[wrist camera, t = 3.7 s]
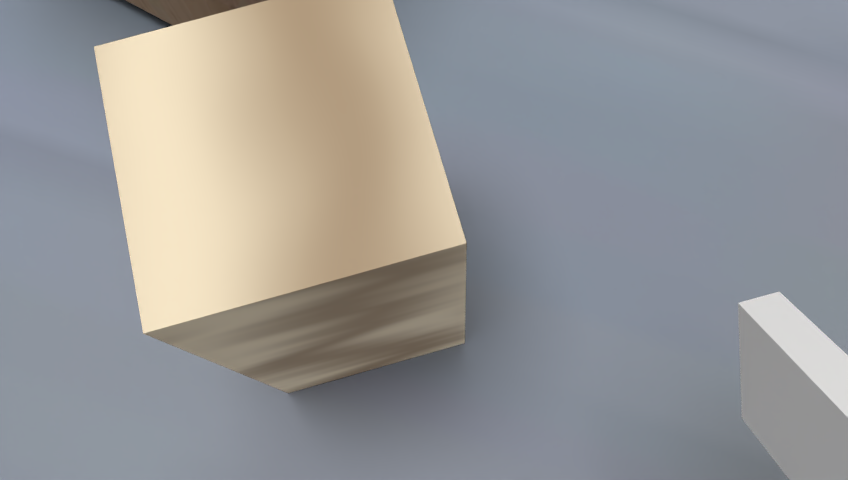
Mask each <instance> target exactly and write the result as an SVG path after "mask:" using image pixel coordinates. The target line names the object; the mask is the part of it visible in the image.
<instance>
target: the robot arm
mask: <svg viewBox="0 0 848 480" xmlns="http://www.w3.org/2000/svg"><path fill="white" fill-rule="evenodd" d="M738 314H739V344H740V375H741V405H742V419H743V420H744V422H745V423H746V424H747V426H748V427H749V428H750V429H751V431H752V432H753V433H754V435H755V436H756V437H757V438H758V440H759V441H760V442H761V444H762V445H763V446H764V448H765V449H766V450H767V451H768V453H769V454H770V455H771V457H772V458H773V459H774V461H775V462H776V463H777V464H778V466H779V467H780V468H781V470H782V471H783V472H784V473H785V475H786V476H787V477H788V479H789V480H848V355H847V354H845V353H844V352H843V351H842V350H841V349H840V348H839V347H838V346H837V345H836V344H835V343H834V342H833V341H832V340H830V339H829V338H828V337H827V336H826V335H825V334H824V333H823V332H822V331H821V330H820V329H819V328H818V327H817V326H815V325H814V324H813V323H812V322H811V321H810V320H809V319H808V318H807V317H806V316H805V315H804V314H803V313H802V312H800V311H799V310H798V309H797V308H796V307H795V306H794V305H793V304H792V303H791V302H790V301H789V300H788V299H787V298H785V297H784V296H783V295H782V294H781V293H780V292H776V293H773V294H769V295H765V296H762V297H758V298H754V299H751V300H747V301H744V302H740V303H738Z"/></svg>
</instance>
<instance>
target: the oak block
mask: <svg viewBox="0 0 848 480" xmlns="http://www.w3.org/2000/svg"><path fill="white" fill-rule="evenodd" d="M94 50H95V56H96V62H97V67H98V73H99V79H100V85H101V91H102V96H103V102H104V108H105V114H106V120H107V125H108V131H109V137H110V143H111V149H112V154H113V160H114V166H115V172H116V178H117V183H118V189H119V195H120V201H121V207H122V213H123V218H124V224H125V230H126V236H127V242H128V247H129V253H130V259H131V265H132V271H133V276H134V282H135V288H136V294H137V300H138V305H139V311H140V317H141V323H142V329H143V334H146V335H148V336H151V337H153V338H155V339H158V340H160V341H163V342H165V343H168V344H170V345H172V346H175V347H177V348H180V349H182V350H185V351H187V352H189V353H192V354H194V355H197V356H199V357H202V358H204V359H206V360H209V361H211V362H214V363H216V364H219V365H221V366H223V367H226V368H228V369H231V370H233V371H236V372H238V373H240V374H243V375H245V376H248V377H250V378H253V379H255V380H257V381H260V382H262V383H265V384H267V385H270V386H272V387H274V388H277V389H279V390H282V391H284V392H286V393H291V392H294V391H298V390H301V389H305V388H308V387H312V386H315V385H319V384H322V383H326V382H330V381H333V380H337V379H340V378H344V377H347V376H351V375H354V374H358V373H361V372H365V371H368V370H372V369H375V368H379V367H382V366H386V365H389V364H393V363H397V362H400V361H404V360H407V359H411V358H414V357H418V356H421V355H425V354H428V353H432V352H435V351H439V350H442V349H446V348H449V347H453V346H457V345H460V344H464V343H465V302H466V245H467V243H466V240H465V236H464V233H463V230H462V227H461V223H460V220H459V217H458V213H457V210H456V207H455V204H454V200H453V197H452V194H451V191H450V187H449V184H448V181H447V177H446V174H445V171H444V168H443V164H442V161H441V158H440V154H439V151H438V148H437V145H436V141H435V138H434V135H433V131H432V128H431V125H430V122H429V118H428V115H427V112H426V108H425V105H424V102H423V99H422V95H421V92H420V89H419V85H418V82H417V79H416V76H415V72H414V69H413V66H412V62H411V59H410V56H409V53H408V49H407V46H406V43H405V39H404V36H403V33H402V30H401V26H400V23H399V20H398V17H397V13H396V10H395V7H394V3H393V0H267V1H263V2H259V3H256V4H252V5H248V6H245V7H241V8H237V9H233V10H230V11H226V12H222V13H218V14H215V15H211V16H207V17H203V18H200V19H196V20H192V21H189V22H185V23H181V24H177V25H174V26H170V27H166V28H162V29H159V30H155V31H151V32H147V33H144V34H140V35H136V36H132V37H129V38H125V39H121V40H118V41H114V42H110V43H106V44H103V45H99V46H95V47H94Z"/></svg>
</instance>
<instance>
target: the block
mask: <svg viewBox="0 0 848 480" xmlns="http://www.w3.org/2000/svg"><path fill="white" fill-rule="evenodd" d="M126 1H128V2H130V3H131V4H133V5H135V6H137V7H139V8H141V9H143V10H145V11H147V12H148V13H150V14H152V15H154V16H156V17H158V18H160V19H162V20H163V21H165V22H167V23H169V24H171V25H173V26H174V25H177V24H181V23H185V22H189V21H192V20H196V19H200V18H203V17H207V16H211V15H215V14H218V13H222V12H226V11H230V10H233V9H237V8H241V7H245V6H248V5H252V4H256V3H259V2H263V1H267V0H126Z"/></svg>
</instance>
